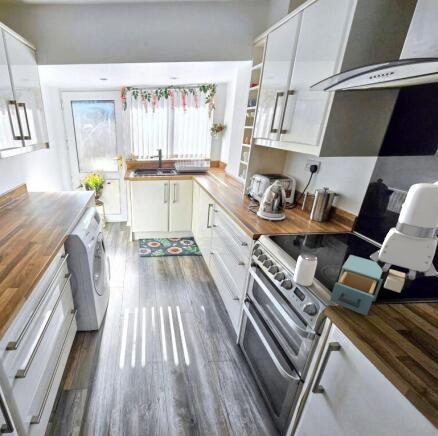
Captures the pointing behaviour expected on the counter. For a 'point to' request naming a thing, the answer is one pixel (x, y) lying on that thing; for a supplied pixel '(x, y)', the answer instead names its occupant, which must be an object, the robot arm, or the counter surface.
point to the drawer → (354, 292)
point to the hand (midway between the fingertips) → (393, 284)
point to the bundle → (395, 280)
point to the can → (305, 269)
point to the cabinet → (363, 270)
